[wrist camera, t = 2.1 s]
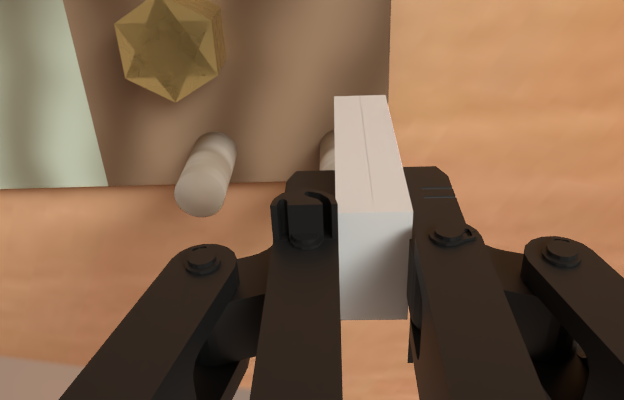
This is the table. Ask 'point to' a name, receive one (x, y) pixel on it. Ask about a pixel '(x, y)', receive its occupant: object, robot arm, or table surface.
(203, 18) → the wooden star polyhedron
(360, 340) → the table surface
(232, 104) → the board
